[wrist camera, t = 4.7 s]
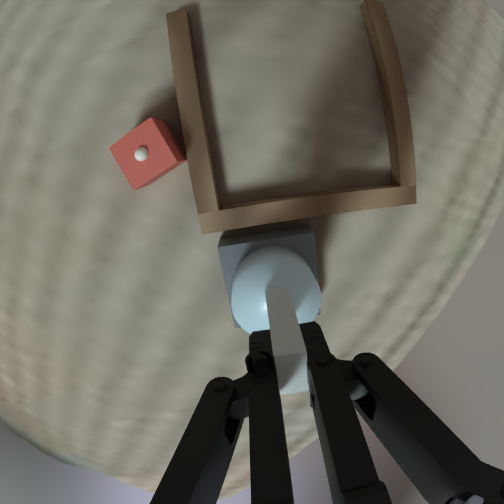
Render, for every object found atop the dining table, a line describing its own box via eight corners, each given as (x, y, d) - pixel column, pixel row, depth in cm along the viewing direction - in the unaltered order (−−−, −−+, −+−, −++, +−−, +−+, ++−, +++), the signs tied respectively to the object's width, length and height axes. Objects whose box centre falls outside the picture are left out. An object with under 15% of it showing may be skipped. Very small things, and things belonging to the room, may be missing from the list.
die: (150, 184, 21) (131, 192, 17) (128, 147, 20) (105, 148, 16) (187, 159, 20) (175, 162, 16) (165, 121, 19) (148, 116, 15)
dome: (240, 322, 23) (239, 345, 20) (225, 252, 21) (223, 269, 18) (314, 310, 23) (322, 331, 20) (308, 239, 20) (318, 254, 18)
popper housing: (235, 314, 25) (235, 327, 23) (219, 238, 22) (217, 247, 20) (315, 302, 25) (320, 314, 23) (308, 225, 22) (314, 232, 20)
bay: (204, 228, 22) (202, 234, 21) (170, 20, 16) (166, 13, 15) (407, 200, 22) (416, 203, 20) (375, 8, 16) (382, 2, 14)
